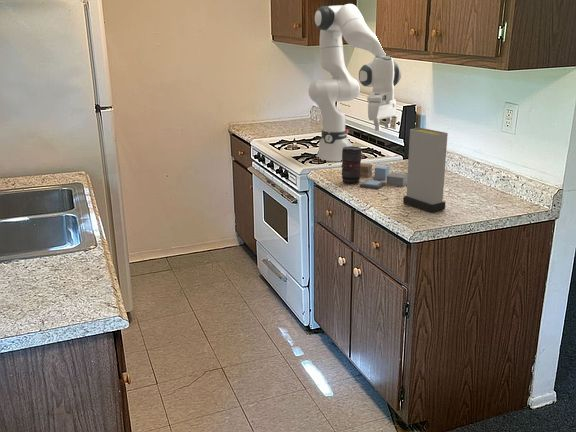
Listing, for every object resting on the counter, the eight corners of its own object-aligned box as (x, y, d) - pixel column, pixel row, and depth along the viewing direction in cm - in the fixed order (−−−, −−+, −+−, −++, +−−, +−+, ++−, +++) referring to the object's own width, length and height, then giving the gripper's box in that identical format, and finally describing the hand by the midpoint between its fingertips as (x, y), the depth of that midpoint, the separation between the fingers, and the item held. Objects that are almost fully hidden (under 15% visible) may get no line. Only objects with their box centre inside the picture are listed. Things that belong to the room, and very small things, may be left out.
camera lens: (359, 185, 248) (360, 150, 243) (340, 184, 249) (341, 149, 245) (361, 180, 255) (362, 146, 251) (342, 179, 257) (343, 145, 252)
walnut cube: (361, 174, 266) (361, 163, 264) (371, 175, 264) (372, 164, 262) (357, 176, 262) (357, 165, 260) (367, 178, 260) (368, 166, 258)
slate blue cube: (378, 176, 262) (378, 165, 261) (389, 177, 260) (389, 166, 258) (374, 178, 258) (374, 167, 257) (385, 180, 256) (385, 168, 254)
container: (417, 206, 228) (411, 127, 222) (454, 210, 212) (449, 126, 207) (402, 209, 224) (397, 130, 219) (440, 214, 208) (434, 128, 203)
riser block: (391, 181, 255) (392, 172, 253) (407, 183, 252) (408, 173, 250) (386, 185, 249) (386, 176, 247) (402, 187, 246) (403, 177, 244)
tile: (366, 182, 252) (367, 179, 252) (384, 184, 248) (384, 181, 248) (359, 187, 245) (359, 183, 245) (378, 189, 242) (378, 185, 241)
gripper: (386, 93, 257) (386, 125, 260) (365, 97, 240) (364, 131, 244) (400, 94, 253) (399, 126, 257) (379, 97, 237) (378, 132, 241)
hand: (382, 129), depth 250 cm, fingers open, 8 cm apart
